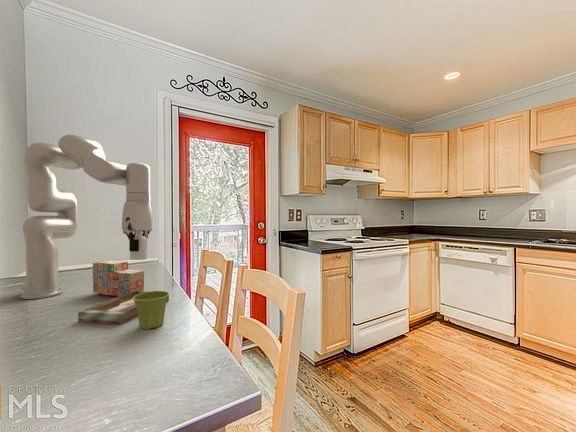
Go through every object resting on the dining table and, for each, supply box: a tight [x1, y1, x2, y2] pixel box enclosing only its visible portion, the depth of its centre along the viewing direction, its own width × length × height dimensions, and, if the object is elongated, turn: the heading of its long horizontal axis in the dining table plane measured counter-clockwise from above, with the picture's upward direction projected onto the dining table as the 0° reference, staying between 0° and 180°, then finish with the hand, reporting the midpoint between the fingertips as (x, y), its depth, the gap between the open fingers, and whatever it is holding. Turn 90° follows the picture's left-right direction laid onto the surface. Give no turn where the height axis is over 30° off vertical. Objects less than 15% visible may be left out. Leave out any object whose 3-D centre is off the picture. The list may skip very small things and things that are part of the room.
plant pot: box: [133, 290, 170, 330], centre depth 80 cm, size 9×9×9 cm
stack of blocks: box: [92, 260, 145, 297], centre depth 110 cm, size 21×6×12 cm, turn 67°
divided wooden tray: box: [77, 290, 170, 326], centre depth 93 cm, size 14×24×3 cm, turn 171°
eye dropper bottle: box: [129, 230, 148, 261], centre depth 99 cm, size 4×6×12 cm
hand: (138, 249), depth 99 cm, fingers closed on eye dropper bottle, 3 cm apart
